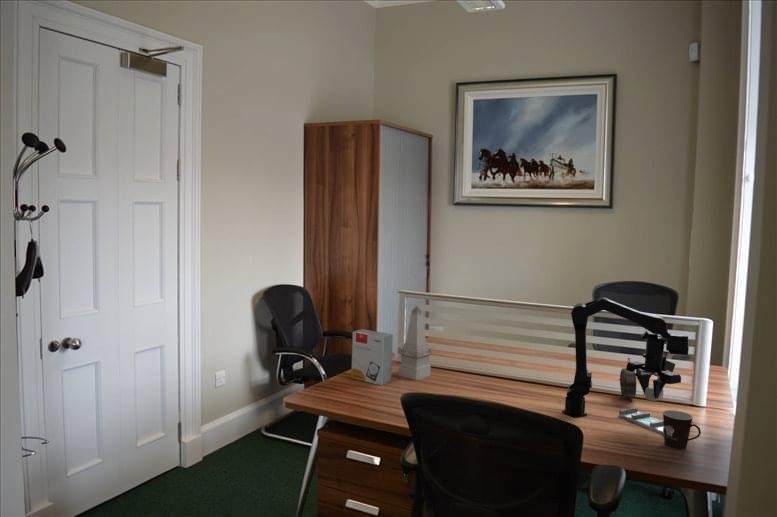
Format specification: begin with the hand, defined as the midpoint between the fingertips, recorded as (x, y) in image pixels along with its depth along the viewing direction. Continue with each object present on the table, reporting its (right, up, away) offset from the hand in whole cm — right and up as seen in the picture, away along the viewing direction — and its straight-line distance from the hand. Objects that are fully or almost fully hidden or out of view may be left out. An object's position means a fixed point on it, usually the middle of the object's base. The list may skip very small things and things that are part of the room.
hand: (651, 396), depth 222 cm
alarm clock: (+2, -7, +29) cm, 30 cm away
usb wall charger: (0, -1, 0) cm, 1 cm away
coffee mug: (+1, -12, -19) cm, 23 cm away
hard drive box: (-98, -3, +44) cm, 107 cm away
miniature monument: (-79, -2, +53) cm, 95 cm away
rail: (0, -10, +1) cm, 10 cm away
